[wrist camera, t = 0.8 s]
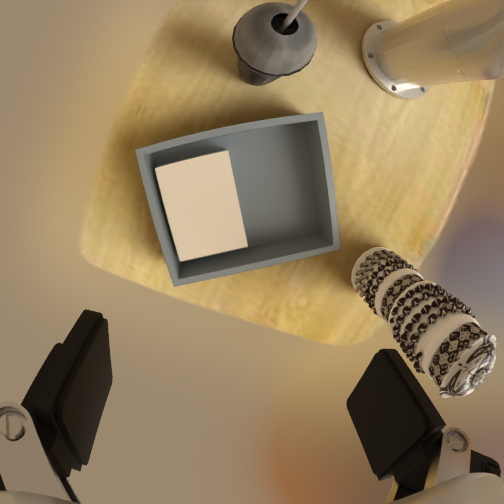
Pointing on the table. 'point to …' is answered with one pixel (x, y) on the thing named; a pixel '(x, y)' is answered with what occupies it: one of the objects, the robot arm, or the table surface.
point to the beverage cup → (273, 42)
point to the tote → (257, 193)
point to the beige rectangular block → (202, 205)
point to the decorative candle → (426, 322)
